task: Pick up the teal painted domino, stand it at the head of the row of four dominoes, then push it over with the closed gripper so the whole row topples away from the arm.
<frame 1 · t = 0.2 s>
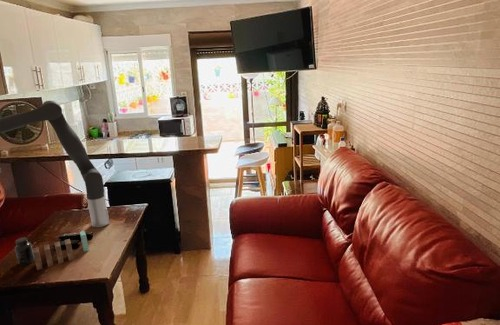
domino 1: (85, 249, 185), on the table
domino 3: (60, 260, 175), on the table
supplement bottle: (26, 262, 176), on the table
domino 5: (39, 266, 171), on the table
domino 4: (50, 263, 173), on the table
domino 2: (70, 257, 178), on the table
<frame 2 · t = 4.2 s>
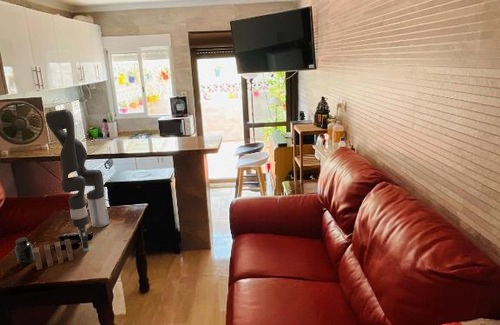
hand: (85, 245, 185), 2 cm above the table, fingers closed on domino 1, 5 cm apart
domino 1: (85, 249, 185), on the table, touching gripper
everything else where it was.
when the fingers open (2 cm above the table, at t = 8.8 s): domino 1 stays where it is, on the table.
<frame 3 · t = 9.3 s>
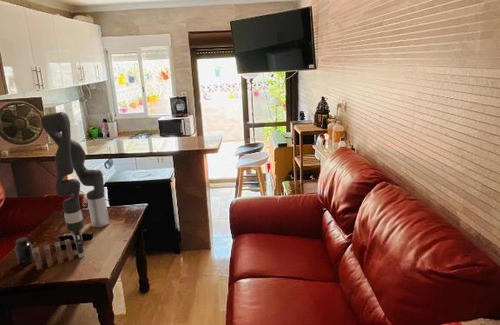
hand: (79, 249, 179), 3 cm above the table, fingers open, 8 cm apart
domino 1: (80, 255, 180), on the table
everything else where it was.
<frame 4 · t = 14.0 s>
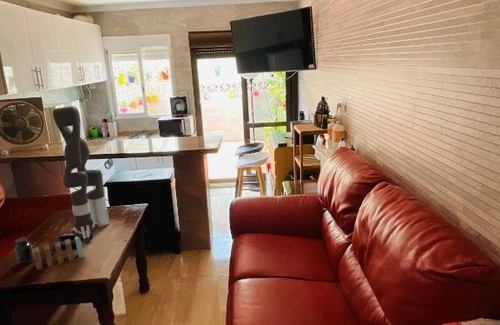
hand: (87, 243, 180), 5 cm above the table, fingers closed
domino 1: (80, 255, 180), on the table, touching gripper
everything else where it was.
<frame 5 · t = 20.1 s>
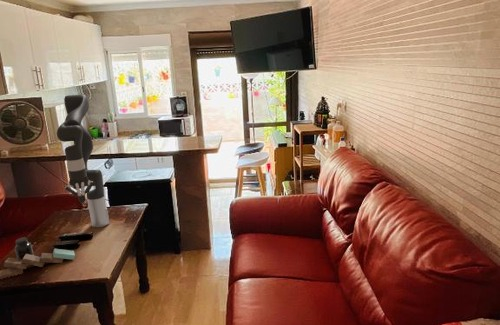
hand: (82, 202, 175), 27 cm above the table, fingers closed
domino 1: (73, 255, 178), point 1 cm above the table, tilted 64°
domino 3: (44, 262, 172), point 1 cm above the table, tilted 64°, touching domino 2, domino 4
domino 5: (22, 269, 168), point 1 cm above the table, tilted 90°
domino 4: (28, 264, 169), point 2 cm above the table, tilted 71°, touching domino 3
domino 2: (62, 258, 176), point 1 cm above the table, tilted 70°, touching domino 3
everything else where it was.
at the end: domino 5 tilted 90°; domino 1 tilted 64°; domino 1 moved 8.0 cm from its start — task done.
